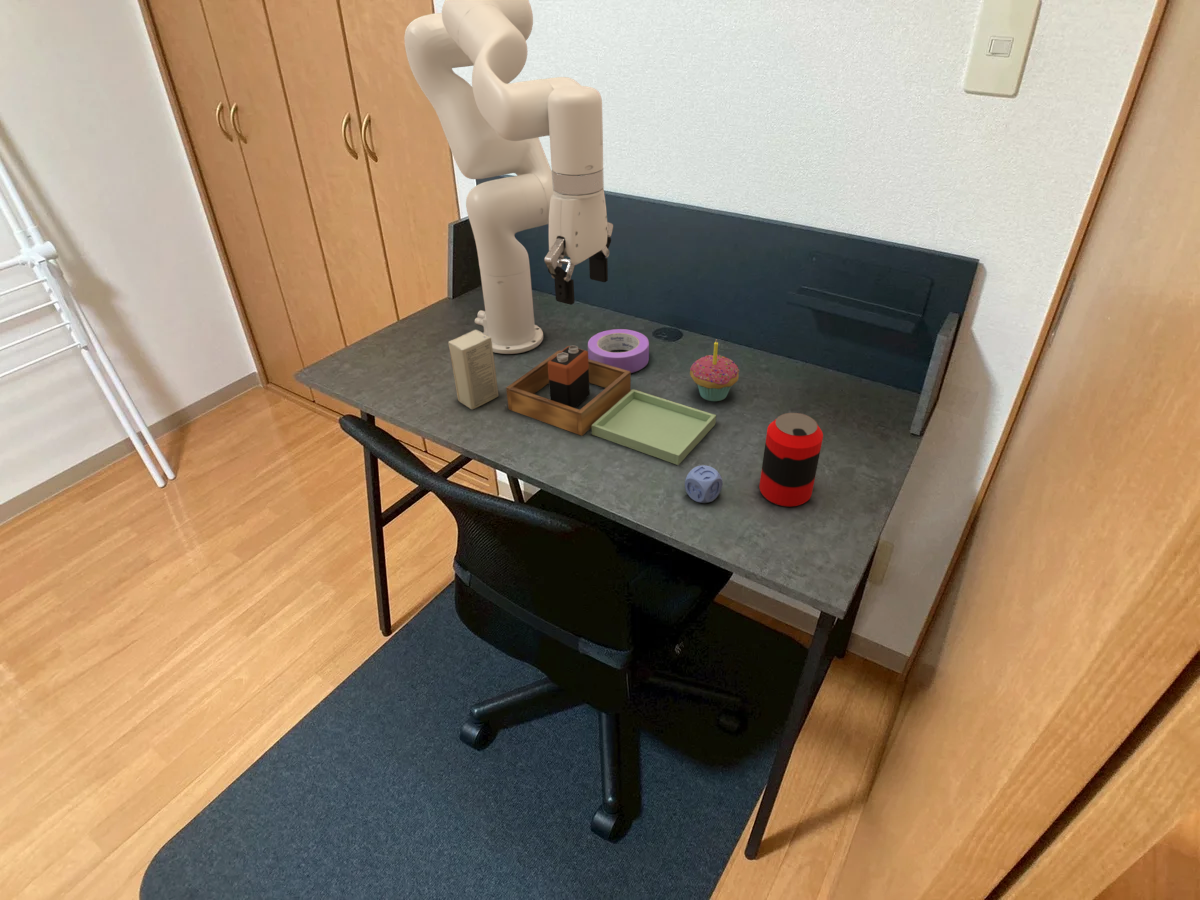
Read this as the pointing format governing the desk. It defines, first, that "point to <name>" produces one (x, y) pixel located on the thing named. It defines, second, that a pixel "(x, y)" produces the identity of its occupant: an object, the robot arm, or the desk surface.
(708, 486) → the decorative dice
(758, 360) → the desk surface
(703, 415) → the tray
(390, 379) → the desk surface
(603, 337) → the tape roll
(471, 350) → the cosmetic box
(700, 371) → the cupcake
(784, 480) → the soda can
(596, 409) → the wooden frame
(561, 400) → the battery
